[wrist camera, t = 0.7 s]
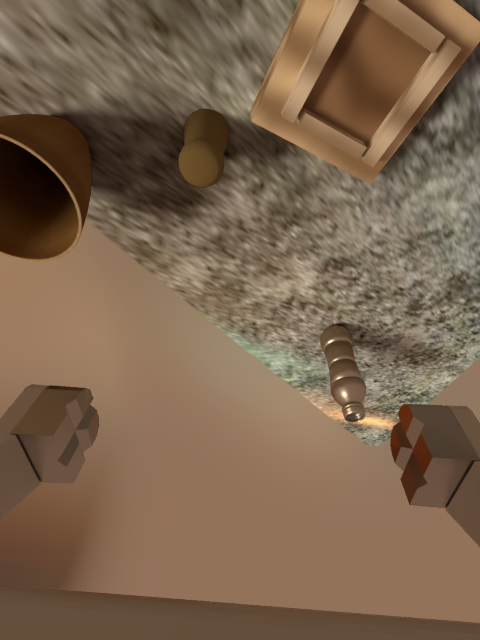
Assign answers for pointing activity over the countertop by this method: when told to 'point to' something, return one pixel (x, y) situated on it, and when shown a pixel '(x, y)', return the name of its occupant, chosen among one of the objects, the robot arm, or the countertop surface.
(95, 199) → the countertop surface
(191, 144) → the cork
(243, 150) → the countertop surface
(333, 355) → the plastic bottle
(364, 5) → the display stand
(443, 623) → the robot arm
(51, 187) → the plant pot
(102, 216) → the countertop surface
